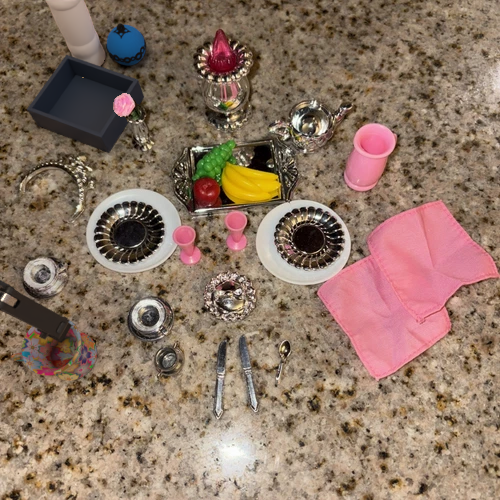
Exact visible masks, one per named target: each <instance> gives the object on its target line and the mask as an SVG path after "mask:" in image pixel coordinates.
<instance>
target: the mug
mask: <svg viewBox="0 0 500 500" xmlns="http://www.w3.org/2000/svg"><path fill="white" fill-rule="evenodd" d="M69 323H70V324H71V325H72V326H71V328H70V330H69V331H68V333H67V335H66V336H65V338H64V340H63V342H62V343H60V342H58V341H56V340H54V339H53V338H51V337H49V336H47V338H46V339H43V338H41V337H39V336H40V334H41V332H39V331H37V328H35V327H33V326H31V327H30V328H29V329H28V330H27V332H26V334H25V336H24V338H23V340H22V344H21V351H20V352H19V351H18V352H15V353H13V354H12V355H10V359H11V361H14V362H24V364H25V366H26V367H27V368H28V369H29V371H31V372H33V373H35V374H37V375H39V376H46V377H47V376H49V377H50V376H55V377H57V379H60V380H62V381H68V382H69V381H75V380H76V381H77V380H79V379H81V378H83V377H85V376H86V375H87V374H88V373H90V371H91V370H92V369H93V367H94V366H95V364H96V361H97V357H98V349H97V346H96V343H95V341H94V340H93V338H92V337H91V336H90V335H89V334H86V333H84V332H82V331H80V330H79V328H78V327H77V326H76V324H75V323H74V322H73V321H71V320H70V319H69Z"/></svg>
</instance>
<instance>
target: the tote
mask: <svg viewBox="0 0 500 500" xmlns="http://www.w3.org/2000/svg"><path fill="white" fill-rule="evenodd" d="M82 77H84V78H82ZM122 93H127V94H130V95H131V97H132V98H133V99H134V100H135V101H136V103H137V104H139V106H140V105H141V103H142V102H143V100H144V98H145V96H144V93H143V90H142V85H141V83H140V80H139V79H137V78H134V77H132V76H130V75H126V74H124V73H120V72H117V71H115V70H112V69H109V68H106V67H103V66H98V65H95V64H92V63H89V62H86V61H83V60H80V59H77V58H75V57H72V55H69V54H66V55H65V56H64V57H63V59H61V62H60V63H59V64H58V66H57V67H56V69H54V71H53V72H52V74H51V75H50V76H49V78H48V80H47V81H46V82H45V84H44V85H43V87H42V88H41V89H40V90H39V92H38V93H37V95H36V96H35V98H34V99H33V100H32V101H31V103H30V104H29V106H28V107H27V108H26V111H27V112H28V115H30V117H31V118H32V119H33V121H34V122H35V124H36V125H37V126H38V127H39V126H40V128H42V127H43V128H42V129H45V130H47V129H48V131H50V132H52V133H55V134H58V135H60V136H64V137H66V138H68V139H72V140H74V141H76V142H79V143H81V144H83V145H84V144H85V145H87V146H89V147H93V148H95V149H98V150H100V151H103V152H106V153H108V154H110V152H111V151H112V150H113V147H115V144H116V143H117V142H118V139H119V138H120V137H121V135H122V133H123V132H124V130H125V128H126V127H127V125H128V124H129V122H127V120H126V118H125V117H120V116H118V115H117V114H116V113H115V112H114V110H113V102H114V99H115V98H116V97H117V96H119V95H121V94H122Z"/></svg>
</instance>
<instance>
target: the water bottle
mask: <svg viewBox="0 0 500 500" xmlns="http://www.w3.org/2000/svg"><path fill="white" fill-rule="evenodd" d="M44 1H45V3H46V4H47V6H48V7H49V11H50V12H51V14H52V17H53V19H54V21H55V24H56V25H57V28H58V30H59V32H60V33H61V35H62V37H63V39H64V41H65V44H66V46H67V48H68V50H69V52H70V53H71V56H72V57H75V58H77V59H80V60H83V61H86V62H89V63H92V64H95V65H98V66H100V67H102V65H103V64H104V62H105V61H106V52H105V49H104V47H103V45H102V43H101V39H100V37H99V34H98V33H97V31H96V29H95V26H94V22H93V19H92V17H91V14H90V11H89V9H88V6H87V4H86V2H85V0H44ZM104 60H105V61H104Z"/></svg>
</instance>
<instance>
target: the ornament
mask: <svg viewBox="0 0 500 500" xmlns="http://www.w3.org/2000/svg"><path fill="white" fill-rule="evenodd" d="M105 48H106V52H107V53H108V56H109V58H110V59H111V60H112V61H113V62H116V63H118V64H119V65H121V66H127V67H128V66H129V67H130V66H134V65H136V64H138V63H140V61H142V60H143V58H144V56H145V54H146V48H147V42H146V38H145V36H144V35H143V33H142V32H141V31H140V30H139V29H138V28H137V27H134V26H133V25H130V24H123V23H121V22H119V23H118V24H117V25H116V26H115V27H113V28H112V29H111V31H109V33H108V35H107V38H106V44H105Z"/></svg>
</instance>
